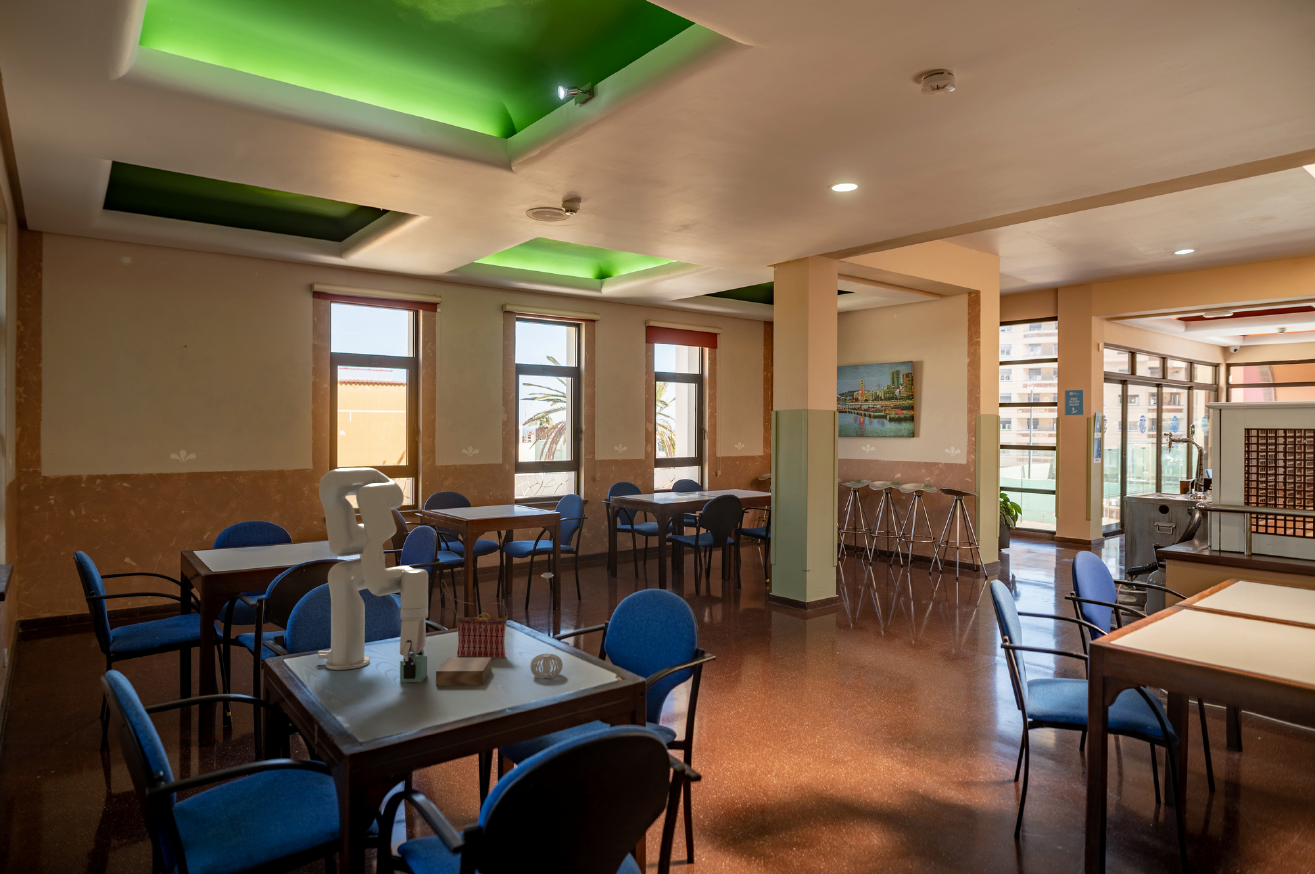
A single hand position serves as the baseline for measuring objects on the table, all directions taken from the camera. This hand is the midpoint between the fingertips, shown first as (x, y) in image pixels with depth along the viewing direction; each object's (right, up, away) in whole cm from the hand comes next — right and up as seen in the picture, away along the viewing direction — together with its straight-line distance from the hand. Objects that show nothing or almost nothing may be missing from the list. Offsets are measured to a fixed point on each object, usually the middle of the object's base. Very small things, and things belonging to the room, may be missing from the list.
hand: (413, 673), depth 211 cm
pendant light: (+38, -2, +3) cm, 38 cm away
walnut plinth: (+15, -1, +1) cm, 15 cm away
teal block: (0, -1, 0) cm, 1 cm away
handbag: (+12, -2, +21) cm, 24 cm away
